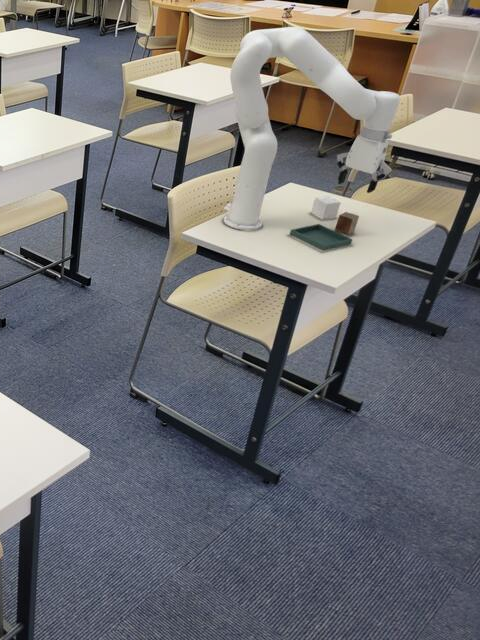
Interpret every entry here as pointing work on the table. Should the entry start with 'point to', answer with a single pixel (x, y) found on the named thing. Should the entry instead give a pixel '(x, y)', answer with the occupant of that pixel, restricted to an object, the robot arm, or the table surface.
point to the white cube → (325, 207)
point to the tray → (320, 237)
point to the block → (346, 223)
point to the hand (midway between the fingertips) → (355, 187)
